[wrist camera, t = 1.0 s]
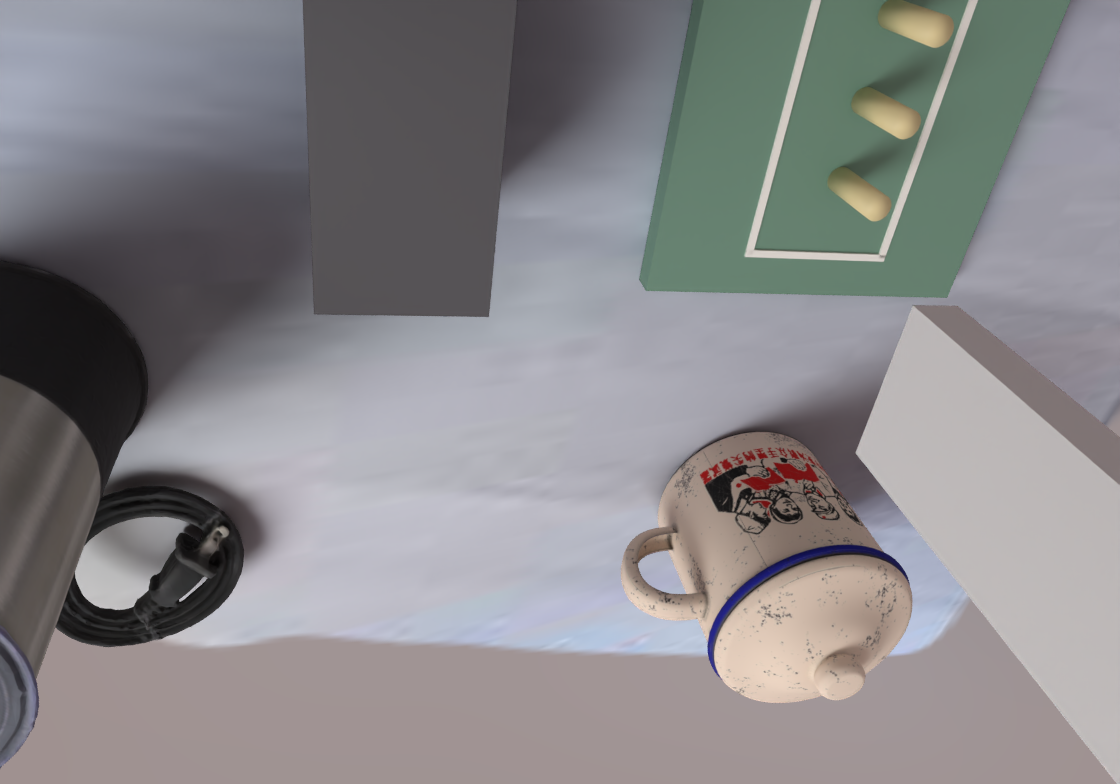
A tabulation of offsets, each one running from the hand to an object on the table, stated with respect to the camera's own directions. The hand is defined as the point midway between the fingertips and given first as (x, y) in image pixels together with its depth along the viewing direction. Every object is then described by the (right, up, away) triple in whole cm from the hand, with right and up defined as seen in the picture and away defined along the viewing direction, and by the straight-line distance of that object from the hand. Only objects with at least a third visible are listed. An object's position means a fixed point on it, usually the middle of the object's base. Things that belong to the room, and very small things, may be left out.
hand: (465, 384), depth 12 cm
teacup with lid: (+9, -5, +31) cm, 33 cm away
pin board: (+12, +11, +21) cm, 26 cm away
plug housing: (-4, +13, +15) cm, 21 cm away
